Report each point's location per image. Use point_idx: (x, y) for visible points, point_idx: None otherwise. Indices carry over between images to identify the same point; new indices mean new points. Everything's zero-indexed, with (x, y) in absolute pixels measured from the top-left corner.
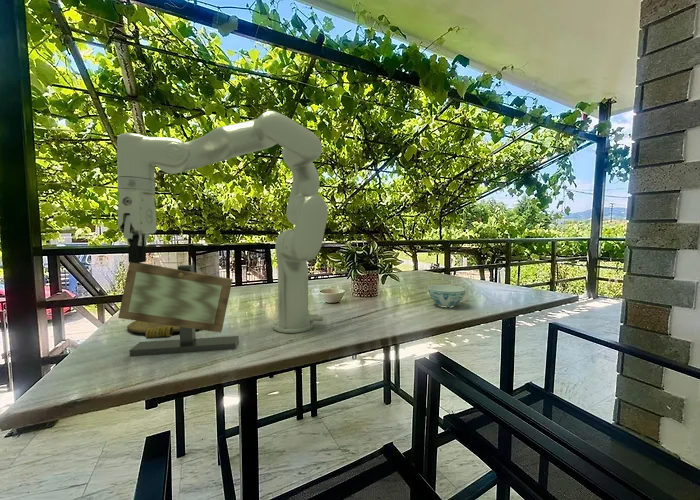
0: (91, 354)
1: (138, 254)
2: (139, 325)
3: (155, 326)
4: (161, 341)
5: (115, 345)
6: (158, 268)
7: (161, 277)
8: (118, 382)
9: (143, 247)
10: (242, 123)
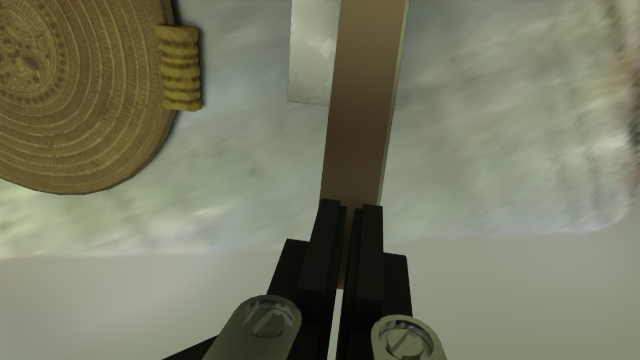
0: (316, 207)
1: (398, 274)
2: (92, 158)
3: (110, 101)
4: (300, 29)
5: (254, 173)
6: (395, 62)
7: (405, 26)
8: (571, 70)
9: (370, 287)
10: None
